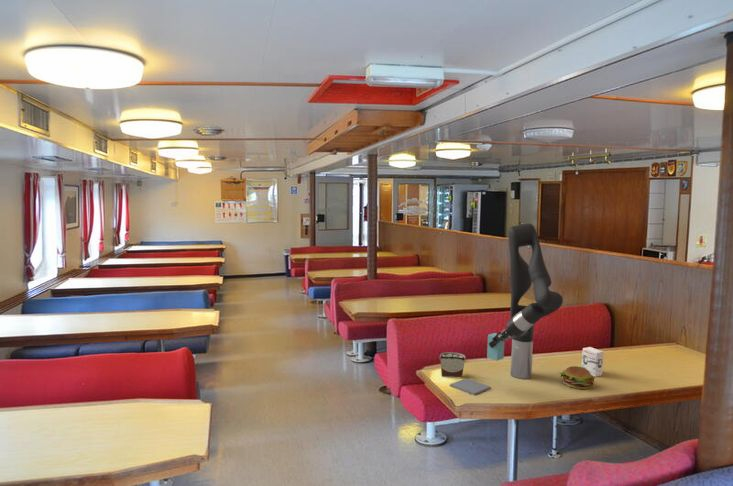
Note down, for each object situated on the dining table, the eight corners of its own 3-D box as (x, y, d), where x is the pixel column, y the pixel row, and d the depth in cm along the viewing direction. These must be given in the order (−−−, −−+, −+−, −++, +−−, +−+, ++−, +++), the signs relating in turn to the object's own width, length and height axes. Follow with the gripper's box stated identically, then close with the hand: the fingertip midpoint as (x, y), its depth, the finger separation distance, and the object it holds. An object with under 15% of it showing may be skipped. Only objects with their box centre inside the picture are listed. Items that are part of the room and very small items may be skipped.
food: (574, 377, 238) (575, 360, 237) (599, 387, 225) (601, 370, 225) (552, 381, 232) (553, 364, 231) (578, 392, 219) (579, 374, 218)
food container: (464, 373, 239) (465, 352, 238) (465, 377, 233) (466, 356, 232) (437, 371, 240) (438, 351, 239) (438, 376, 234) (439, 355, 233)
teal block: (493, 355, 221) (494, 332, 220) (503, 358, 217) (504, 335, 216) (487, 357, 218) (488, 334, 217) (497, 360, 214) (498, 337, 213)
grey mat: (466, 379, 230) (466, 378, 230) (490, 388, 221) (490, 386, 221) (449, 386, 222) (449, 384, 222) (474, 395, 213) (474, 393, 213)
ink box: (580, 371, 246) (582, 347, 245) (587, 369, 248) (589, 346, 247) (595, 377, 238) (596, 352, 237) (602, 375, 241) (604, 351, 239)
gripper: (524, 312, 214) (498, 334, 224) (505, 317, 204) (479, 340, 214) (535, 327, 211) (508, 348, 221) (517, 333, 201) (489, 355, 211)
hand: (494, 344), depth 218 cm, fingers closed on teal block, 5 cm apart
